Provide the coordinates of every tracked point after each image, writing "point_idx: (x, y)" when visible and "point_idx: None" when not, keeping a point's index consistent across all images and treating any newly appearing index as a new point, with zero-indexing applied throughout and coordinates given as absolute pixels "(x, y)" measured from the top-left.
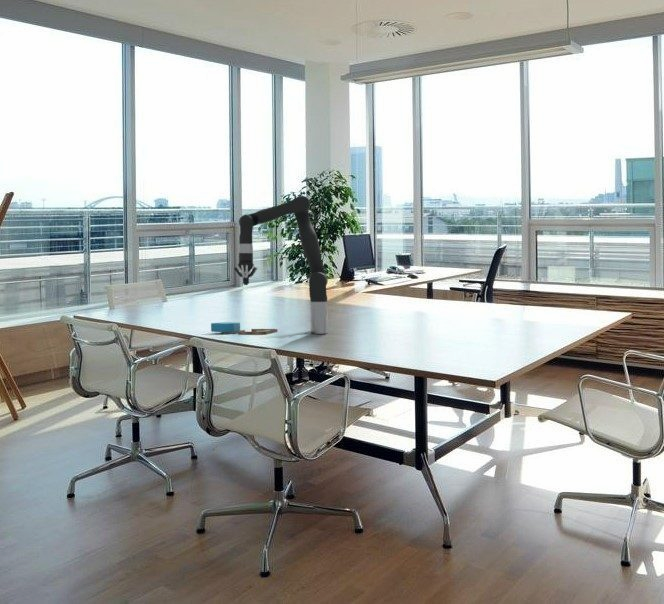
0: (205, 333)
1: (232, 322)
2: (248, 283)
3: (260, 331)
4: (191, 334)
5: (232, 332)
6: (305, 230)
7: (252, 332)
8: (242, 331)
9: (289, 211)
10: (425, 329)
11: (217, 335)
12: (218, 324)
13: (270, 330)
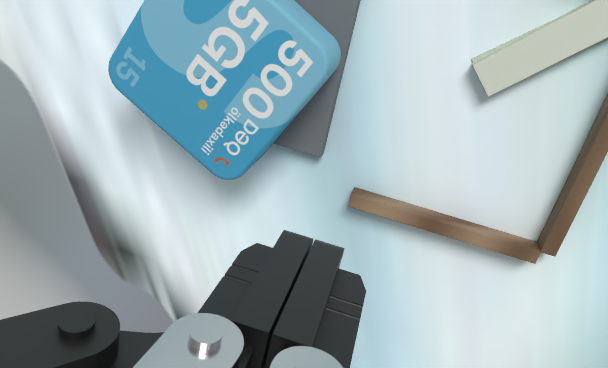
0: (110, 47)
1: (254, 16)
2: (359, 289)
3: (510, 83)
4: (56, 112)
5: (301, 151)
6: None
7: (450, 235)
8: (355, 16)
9: None
10: None
11: (231, 225)
12: (182, 144)
13: (600, 151)
